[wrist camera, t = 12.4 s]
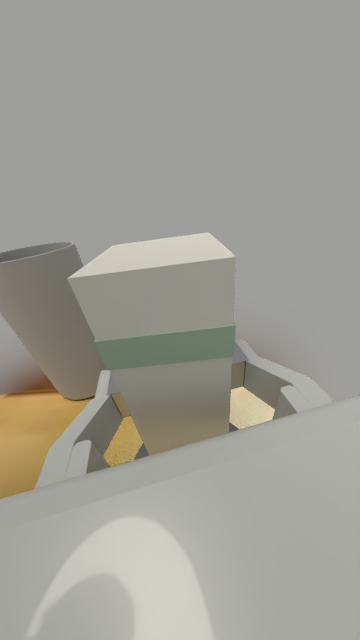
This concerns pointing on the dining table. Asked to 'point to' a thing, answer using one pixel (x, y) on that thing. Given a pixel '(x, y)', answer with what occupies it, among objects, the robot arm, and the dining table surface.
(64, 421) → the dining table surface
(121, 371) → the column
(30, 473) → the dining table surface
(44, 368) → the cylinder vase
